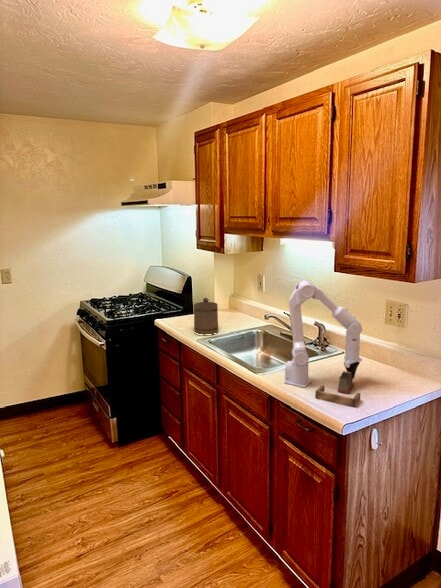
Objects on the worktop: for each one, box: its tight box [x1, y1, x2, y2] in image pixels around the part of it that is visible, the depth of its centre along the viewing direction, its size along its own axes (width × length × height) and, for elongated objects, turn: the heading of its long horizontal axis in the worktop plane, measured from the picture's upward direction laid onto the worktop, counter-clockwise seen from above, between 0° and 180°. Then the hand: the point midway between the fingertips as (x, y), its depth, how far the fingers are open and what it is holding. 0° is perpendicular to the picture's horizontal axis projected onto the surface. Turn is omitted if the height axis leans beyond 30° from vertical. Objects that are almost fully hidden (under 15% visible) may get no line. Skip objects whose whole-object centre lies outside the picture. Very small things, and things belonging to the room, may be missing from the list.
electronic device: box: [337, 370, 355, 395], centre depth 168 cm, size 4×10×8 cm, turn 148°
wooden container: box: [193, 297, 219, 334], centre depth 252 cm, size 15×15×22 cm
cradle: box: [314, 384, 361, 408], centre depth 159 cm, size 15×7×3 cm, turn 56°
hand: (351, 378), depth 173 cm, fingers closed
